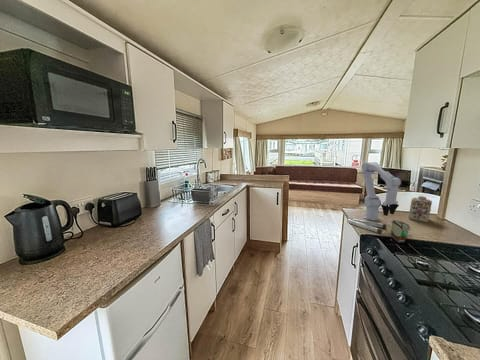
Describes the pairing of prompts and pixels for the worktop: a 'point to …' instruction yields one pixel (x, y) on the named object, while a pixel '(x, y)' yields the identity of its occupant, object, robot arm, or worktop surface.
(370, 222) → the hinged tong arm
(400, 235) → the food container
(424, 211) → the decorative jar
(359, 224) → the fixed tong arm
